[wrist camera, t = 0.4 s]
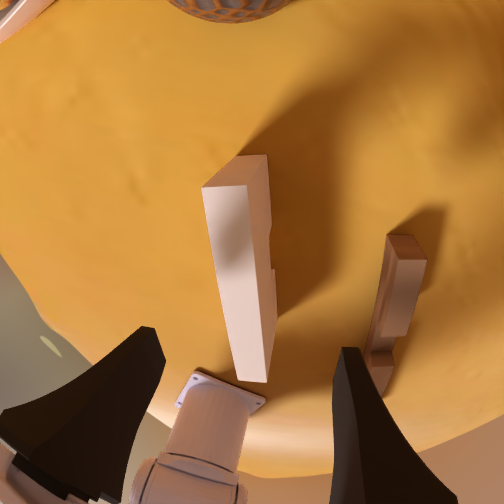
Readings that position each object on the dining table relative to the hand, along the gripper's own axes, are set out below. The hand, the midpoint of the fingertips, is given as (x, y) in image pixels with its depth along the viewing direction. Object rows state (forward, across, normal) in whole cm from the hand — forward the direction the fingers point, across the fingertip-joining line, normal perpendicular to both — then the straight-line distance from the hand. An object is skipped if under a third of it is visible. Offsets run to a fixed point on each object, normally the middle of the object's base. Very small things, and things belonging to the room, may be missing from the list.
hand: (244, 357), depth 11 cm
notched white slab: (+9, +1, 0) cm, 9 cm away
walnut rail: (+9, -9, +9) cm, 16 cm away
